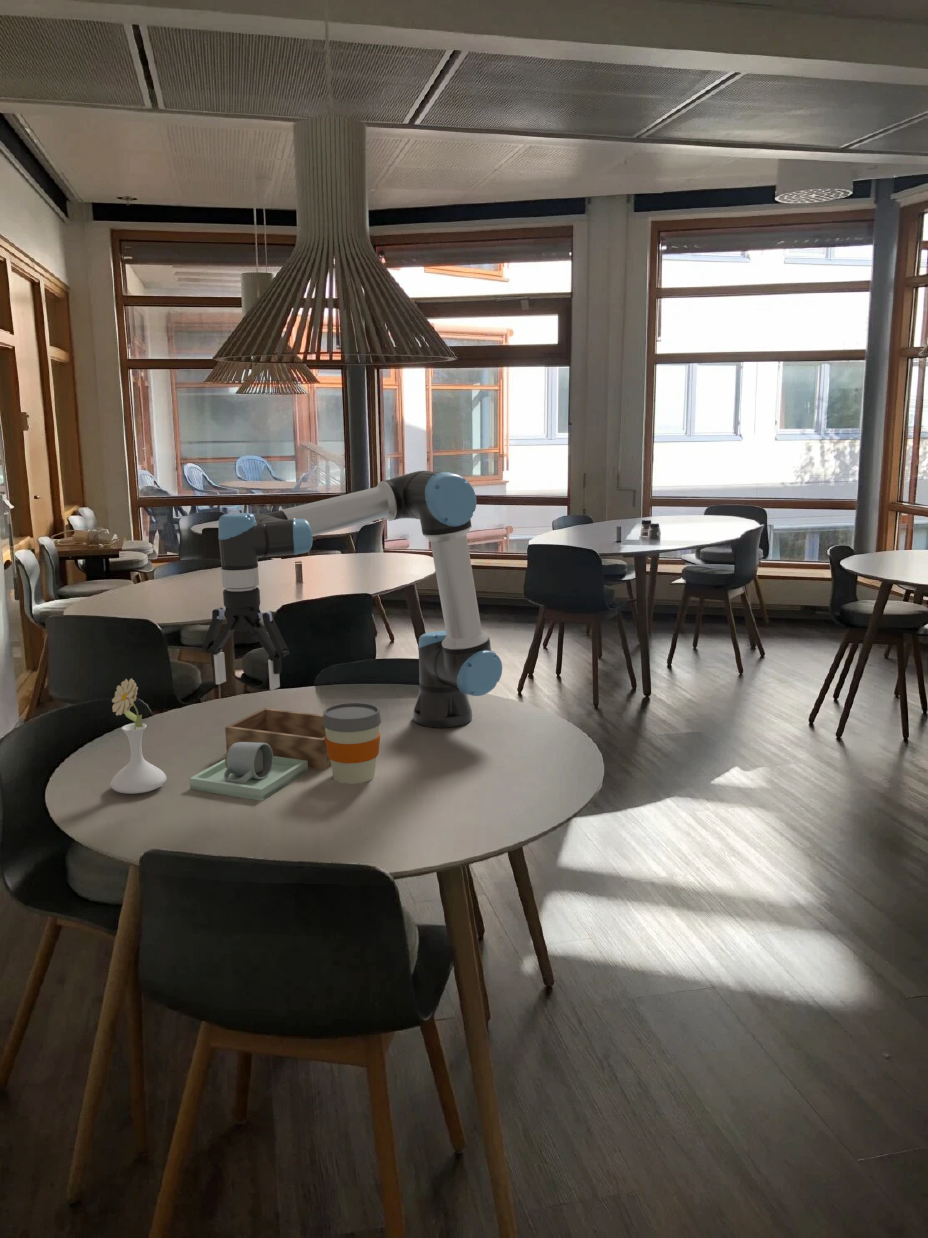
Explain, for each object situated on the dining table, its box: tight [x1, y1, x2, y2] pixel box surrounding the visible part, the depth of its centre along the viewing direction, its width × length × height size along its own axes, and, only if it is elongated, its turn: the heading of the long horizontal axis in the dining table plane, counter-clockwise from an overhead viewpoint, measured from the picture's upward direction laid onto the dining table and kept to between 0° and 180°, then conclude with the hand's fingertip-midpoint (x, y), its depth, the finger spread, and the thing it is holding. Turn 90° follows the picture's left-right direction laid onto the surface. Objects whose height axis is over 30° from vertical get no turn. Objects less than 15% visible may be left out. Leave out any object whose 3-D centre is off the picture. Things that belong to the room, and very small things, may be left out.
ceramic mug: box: [224, 742, 273, 784], centre depth 210 cm, size 11×8×8 cm
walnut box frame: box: [224, 707, 332, 771], centre depth 229 cm, size 26×16×7 cm, turn 68°
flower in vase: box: [110, 678, 168, 795], centre depth 205 cm, size 13×11×25 cm
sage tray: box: [189, 756, 309, 802], centre depth 212 cm, size 18×18×2 cm
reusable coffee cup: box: [322, 702, 382, 785], centre depth 213 cm, size 13×13×15 cm
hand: (247, 685), depth 209 cm, fingers open, 13 cm apart
